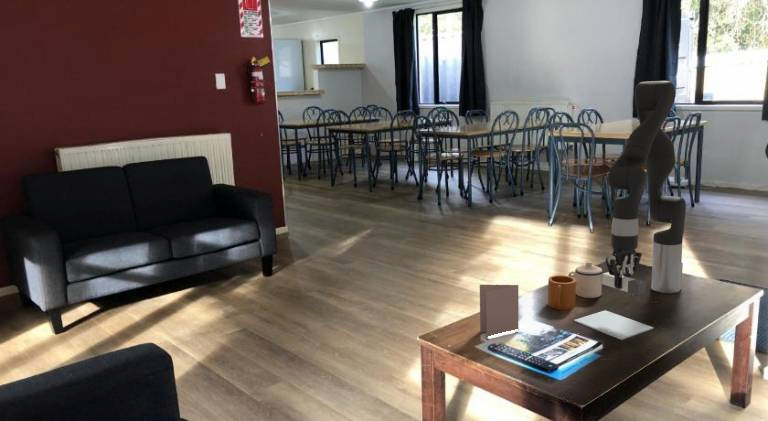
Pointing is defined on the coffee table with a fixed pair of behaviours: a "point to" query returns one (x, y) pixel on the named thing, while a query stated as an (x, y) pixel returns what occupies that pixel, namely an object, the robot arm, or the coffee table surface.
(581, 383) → the coffee table surface
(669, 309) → the coffee table surface
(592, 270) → the teacup with lid
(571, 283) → the mug
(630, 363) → the coffee table surface
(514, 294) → the greeting card
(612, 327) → the paper pad
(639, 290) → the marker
